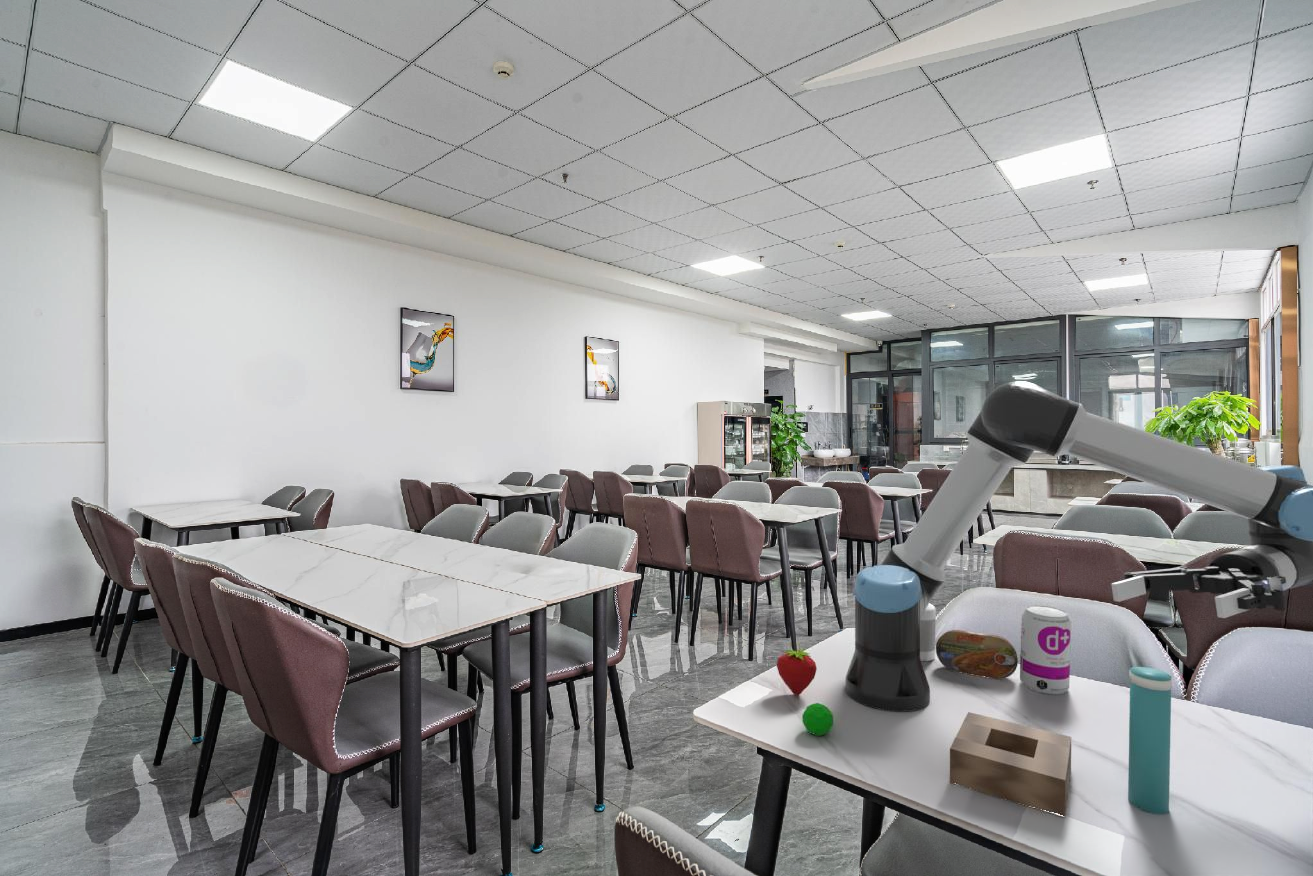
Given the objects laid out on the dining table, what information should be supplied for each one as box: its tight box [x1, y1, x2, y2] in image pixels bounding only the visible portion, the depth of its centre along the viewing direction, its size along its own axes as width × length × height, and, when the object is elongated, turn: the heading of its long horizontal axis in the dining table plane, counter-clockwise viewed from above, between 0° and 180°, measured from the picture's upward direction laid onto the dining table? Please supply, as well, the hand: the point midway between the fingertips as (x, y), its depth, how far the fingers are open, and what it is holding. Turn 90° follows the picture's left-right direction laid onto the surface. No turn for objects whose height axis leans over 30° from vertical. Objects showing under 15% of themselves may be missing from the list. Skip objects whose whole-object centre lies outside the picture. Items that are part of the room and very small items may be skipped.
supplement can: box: [1019, 604, 1072, 695], centre depth 124 cm, size 8×8×15 cm
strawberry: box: [776, 641, 818, 696], centre depth 121 cm, size 6×8×10 cm
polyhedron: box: [802, 702, 834, 736], centre depth 106 cm, size 5×5×5 cm
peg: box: [1127, 666, 1173, 815], centre depth 86 cm, size 5×5×18 cm
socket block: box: [949, 711, 1072, 817], centre depth 93 cm, size 14×14×5 cm
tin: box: [935, 629, 1019, 680], centre depth 131 cm, size 15×3×8 cm, turn 58°
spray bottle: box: [920, 602, 937, 662], centre depth 141 cm, size 7×7×18 cm
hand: (1163, 599), depth 92 cm, fingers open, 13 cm apart
